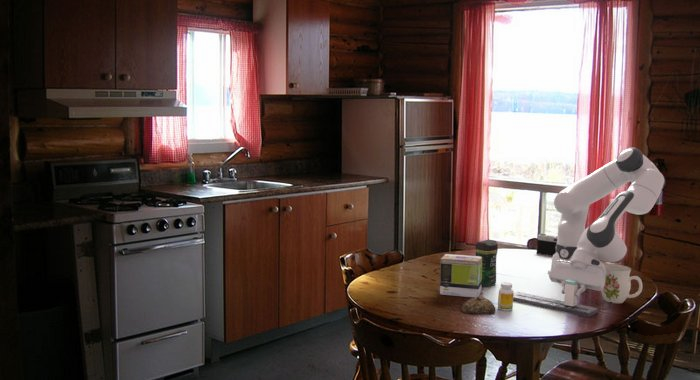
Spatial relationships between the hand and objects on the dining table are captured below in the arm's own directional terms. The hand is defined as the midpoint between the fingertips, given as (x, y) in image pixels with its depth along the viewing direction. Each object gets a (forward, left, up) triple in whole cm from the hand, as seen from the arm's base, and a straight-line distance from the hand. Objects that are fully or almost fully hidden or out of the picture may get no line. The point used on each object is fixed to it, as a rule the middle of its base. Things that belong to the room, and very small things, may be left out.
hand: (570, 294), depth 267 cm
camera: (-84, -45, -6) cm, 96 cm away
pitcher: (-24, +9, -6) cm, 26 cm away
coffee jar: (-11, -41, -6) cm, 43 cm away
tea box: (+8, -41, -6) cm, 42 cm away
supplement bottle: (+15, -18, -6) cm, 24 cm away
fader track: (-1, -7, -6) cm, 9 cm away
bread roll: (+22, -25, -6) cm, 34 cm away
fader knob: (-1, 0, -4) cm, 4 cm away
